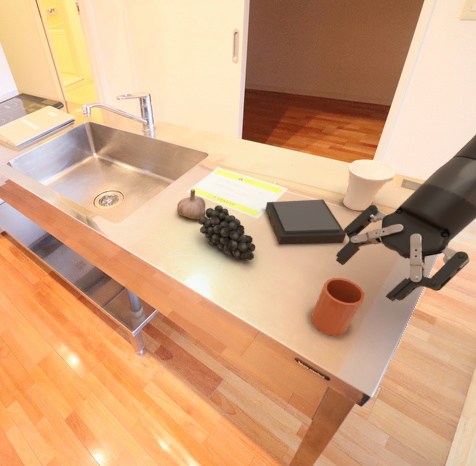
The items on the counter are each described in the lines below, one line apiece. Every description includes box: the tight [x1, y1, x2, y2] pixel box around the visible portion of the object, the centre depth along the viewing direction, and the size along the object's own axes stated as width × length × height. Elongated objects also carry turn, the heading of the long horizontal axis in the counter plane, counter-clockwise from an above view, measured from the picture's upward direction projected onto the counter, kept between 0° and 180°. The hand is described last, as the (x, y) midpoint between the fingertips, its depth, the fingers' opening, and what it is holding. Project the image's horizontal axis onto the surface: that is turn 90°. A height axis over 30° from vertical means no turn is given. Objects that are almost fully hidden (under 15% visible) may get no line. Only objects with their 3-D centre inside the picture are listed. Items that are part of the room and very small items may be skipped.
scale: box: [265, 199, 347, 245], centre depth 74 cm, size 13×13×3 cm
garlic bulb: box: [176, 188, 206, 220], centre depth 81 cm, size 8×7×8 cm
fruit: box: [197, 204, 256, 261], centre depth 70 cm, size 9×8×15 cm
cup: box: [342, 159, 396, 212], centre depth 75 cm, size 9×9×10 cm
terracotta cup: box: [310, 277, 365, 337], centre depth 53 cm, size 5×5×8 cm
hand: (362, 279), depth 50 cm, fingers open, 8 cm apart
